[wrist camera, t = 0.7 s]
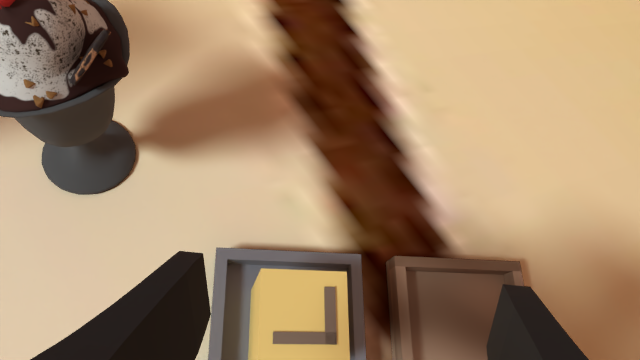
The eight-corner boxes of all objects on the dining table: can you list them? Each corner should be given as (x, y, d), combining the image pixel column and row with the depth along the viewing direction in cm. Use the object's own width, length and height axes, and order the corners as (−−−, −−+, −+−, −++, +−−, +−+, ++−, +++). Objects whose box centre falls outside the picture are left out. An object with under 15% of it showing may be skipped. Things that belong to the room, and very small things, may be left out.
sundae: (6, 130, 28) (-174, -119, 15) (123, 90, 30) (63, -152, 17) (49, 230, 26) (-109, 53, 13) (169, 180, 29) (142, -11, 15)
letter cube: (324, 369, 26) (350, 362, 21) (247, 369, 25) (258, 362, 21) (323, 292, 28) (347, 271, 23) (251, 290, 27) (261, 267, 22)
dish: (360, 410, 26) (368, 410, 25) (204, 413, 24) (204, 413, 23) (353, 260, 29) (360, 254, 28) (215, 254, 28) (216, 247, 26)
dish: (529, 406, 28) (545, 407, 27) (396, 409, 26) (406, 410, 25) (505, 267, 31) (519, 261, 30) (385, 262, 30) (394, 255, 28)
